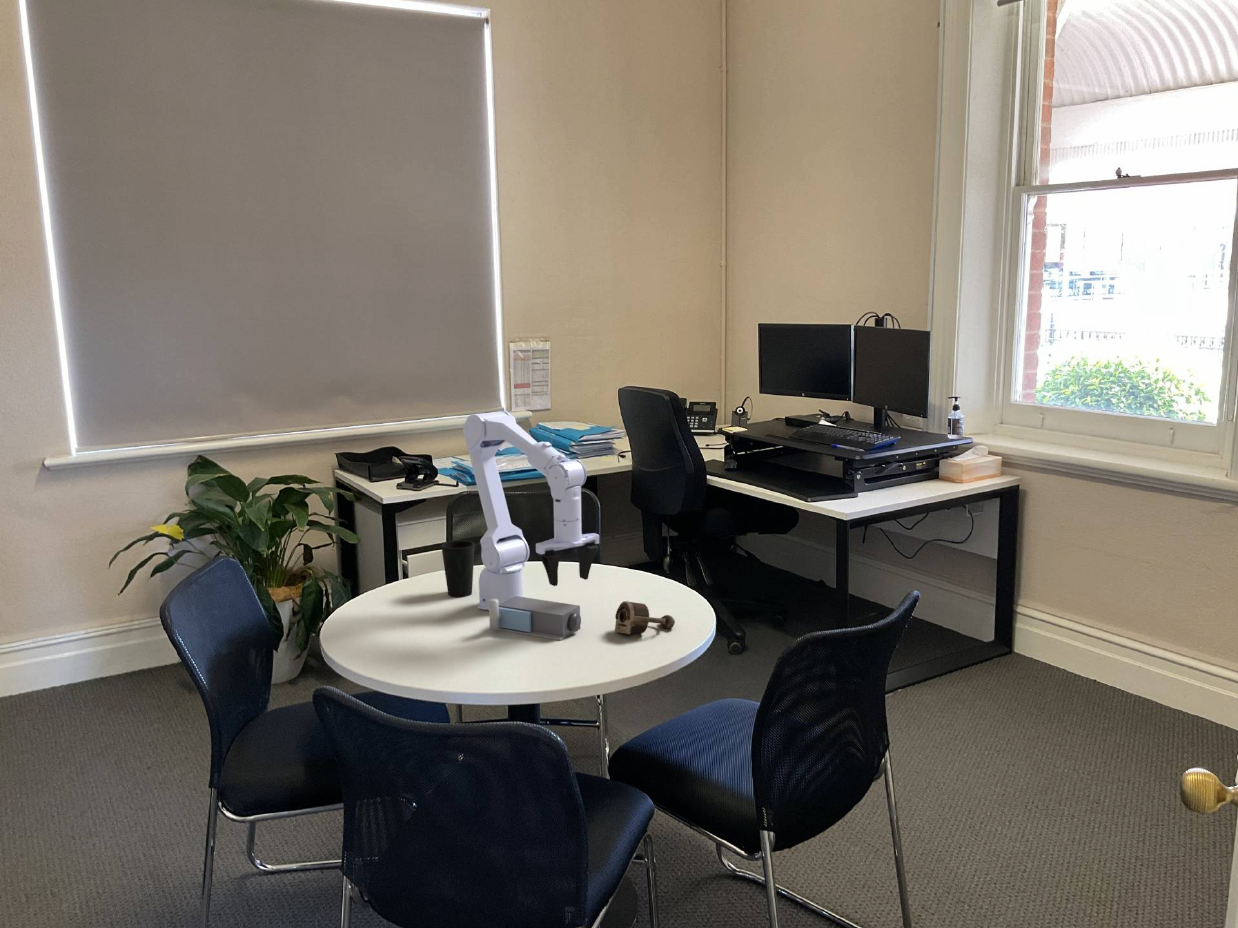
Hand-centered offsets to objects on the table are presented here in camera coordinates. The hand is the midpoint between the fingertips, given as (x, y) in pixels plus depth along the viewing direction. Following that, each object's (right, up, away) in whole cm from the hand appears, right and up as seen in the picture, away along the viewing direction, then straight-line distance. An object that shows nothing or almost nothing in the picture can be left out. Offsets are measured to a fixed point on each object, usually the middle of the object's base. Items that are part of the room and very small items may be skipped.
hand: (568, 581), depth 208 cm
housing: (-6, -10, +1) cm, 12 cm away
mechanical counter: (+16, -11, -3) cm, 19 cm away
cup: (-27, -6, +26) cm, 38 cm away
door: (-12, -10, -3) cm, 16 cm away
